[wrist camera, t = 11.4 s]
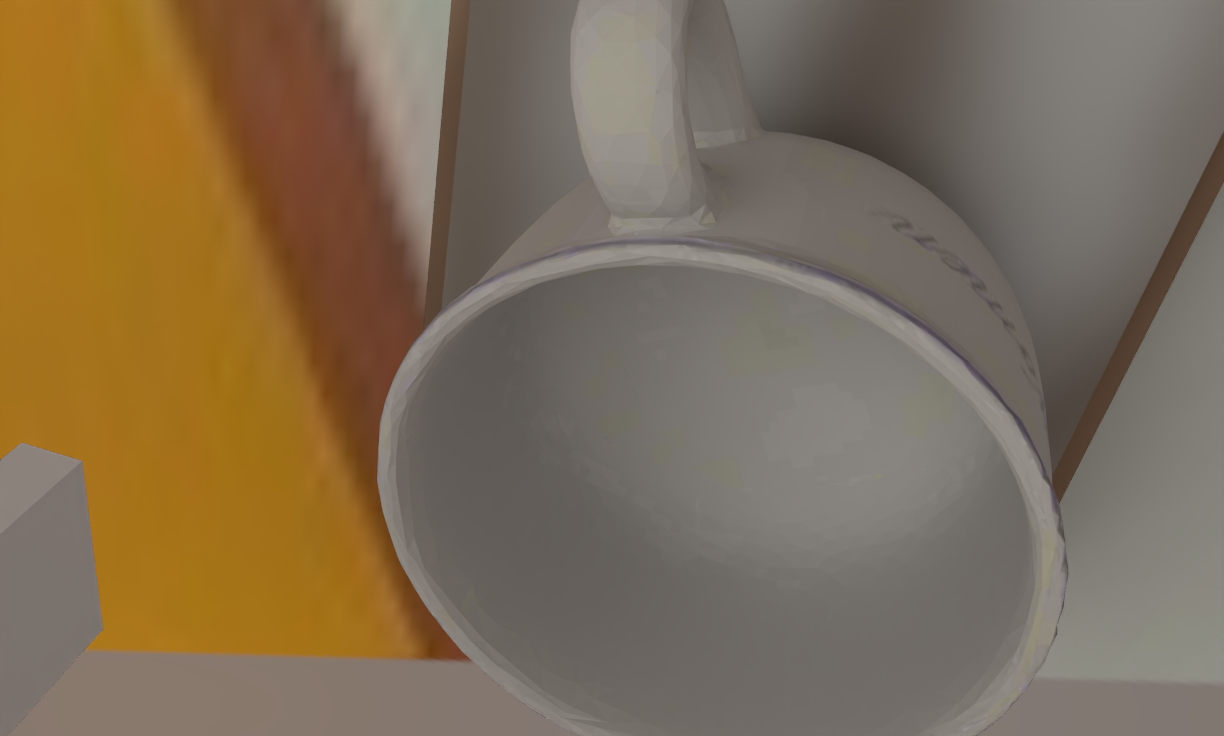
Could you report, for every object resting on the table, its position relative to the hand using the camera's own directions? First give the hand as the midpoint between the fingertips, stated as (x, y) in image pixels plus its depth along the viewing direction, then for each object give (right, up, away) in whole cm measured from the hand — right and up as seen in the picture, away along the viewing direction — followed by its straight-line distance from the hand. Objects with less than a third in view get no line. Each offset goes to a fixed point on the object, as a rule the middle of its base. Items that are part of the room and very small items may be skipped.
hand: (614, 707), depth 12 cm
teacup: (+3, +6, +10) cm, 13 cm away
